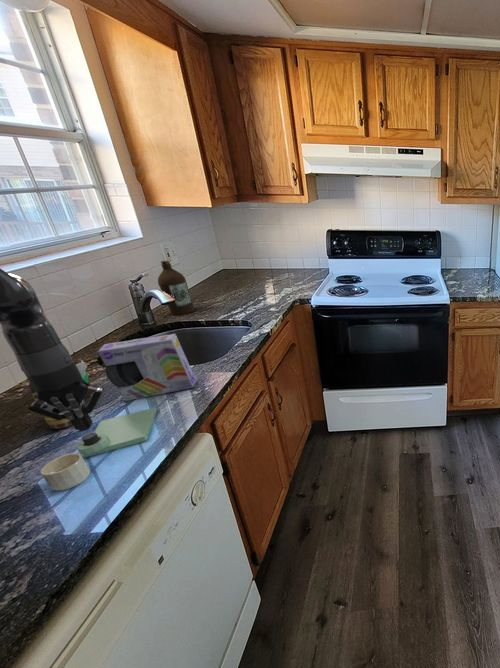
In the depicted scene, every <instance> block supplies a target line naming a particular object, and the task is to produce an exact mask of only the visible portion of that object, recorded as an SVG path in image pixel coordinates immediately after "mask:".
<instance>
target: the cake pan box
mask: <svg viewBox="0 0 500 668" xmlns="http://www.w3.org/2000/svg"><path fill="white" fill-rule="evenodd" d="M97 353H98V355H99V357H100V358H101V361H102V362H103V364H104V365H105V368H104V369H105V374H106V377H107V379H108V380H109V382H110V383H111V384H112V385H114V387H116V388H117V389H118V391H119V393H120V394H121V396H122V398H123V400H124V401H125V402H126V401H132V400H138V399H143V398H147V397H152V396H153V397H154V396H157V395H163V394H168V393H173V392H179V391H184V390H188V389H193V388H194V386H195V385H196V383H197V379H196V376H195V374H194V372H193V370H192V367H191V366H190V363H189V361H188V358H187V356H186V354H185V352H184V350H183V347H182V345H181V343H180V341H179V339H178V336H177V334H176V333H171V334H166V335H159V336H158V335H157V336H151V337H141V338H134V339H130V340H124V341H117V342H110V343H104V344H103V345H102V346H101V347H100V348H99V349H98V350H97Z"/></svg>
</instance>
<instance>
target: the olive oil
mask: <svg viewBox="0 0 500 668" xmlns="http://www.w3.org/2000/svg"><path fill="white" fill-rule="evenodd" d="M160 264H161V268H162V271H161V273H160V274H159V275H158V277H157V284H158V286H159V288H160V291H161V290H162V291H165V292H166V293H168V294H170V295H172V296H174V297H175V301H174V302H173V303H169V304H167V307H168V309H169V312H170V314H171V315H173V316H180V315H187V314H189V313H192V312H194V311H195V307H194V304H193V301H192V298H191V297H192V296H191V294H190V291H189V290H190V289H189V286H188V283H187V280H186V277H185V276H184V275H183V274H182V272H179V271H177V270H176V269H174V268H173V267H172V264H171V263H170V260H169V259H166V260H165V259H164V260H161V261H160ZM162 291H161V292H162Z"/></svg>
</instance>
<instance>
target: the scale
mask: <svg viewBox="0 0 500 668" xmlns="http://www.w3.org/2000/svg"><path fill="white" fill-rule="evenodd" d="M156 414H157V409H156V407H152V408H147V409H144V410H139V411H136V412H135V411H134V412H132V413H127V414H123V415H119V416H115V417H110V418H105V419H103V420H100V421H99V423H98V425H97V426H96V428H95V430H94V432H95V433H96V434H97V436H98V437H99V439H100V441H98V442H97V443H95V444H93V445H90V446H86V445H85V443H84V442H83V440H81V441H80V442H79V443H77V446H76V449H77V451H78V453H79V454H81V455H82V456H83V458H88V457H93V456H96V455H99V454H103V453H107V452H110V451H114V450H118V449H122V448H125V447H128V446H132V445H136V444H140V443H143V442H146V441H147V440H148V437H149V435H150V431H151V428H152V425H153V423H154V421H155V420H154V419H155V417H156Z"/></svg>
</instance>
